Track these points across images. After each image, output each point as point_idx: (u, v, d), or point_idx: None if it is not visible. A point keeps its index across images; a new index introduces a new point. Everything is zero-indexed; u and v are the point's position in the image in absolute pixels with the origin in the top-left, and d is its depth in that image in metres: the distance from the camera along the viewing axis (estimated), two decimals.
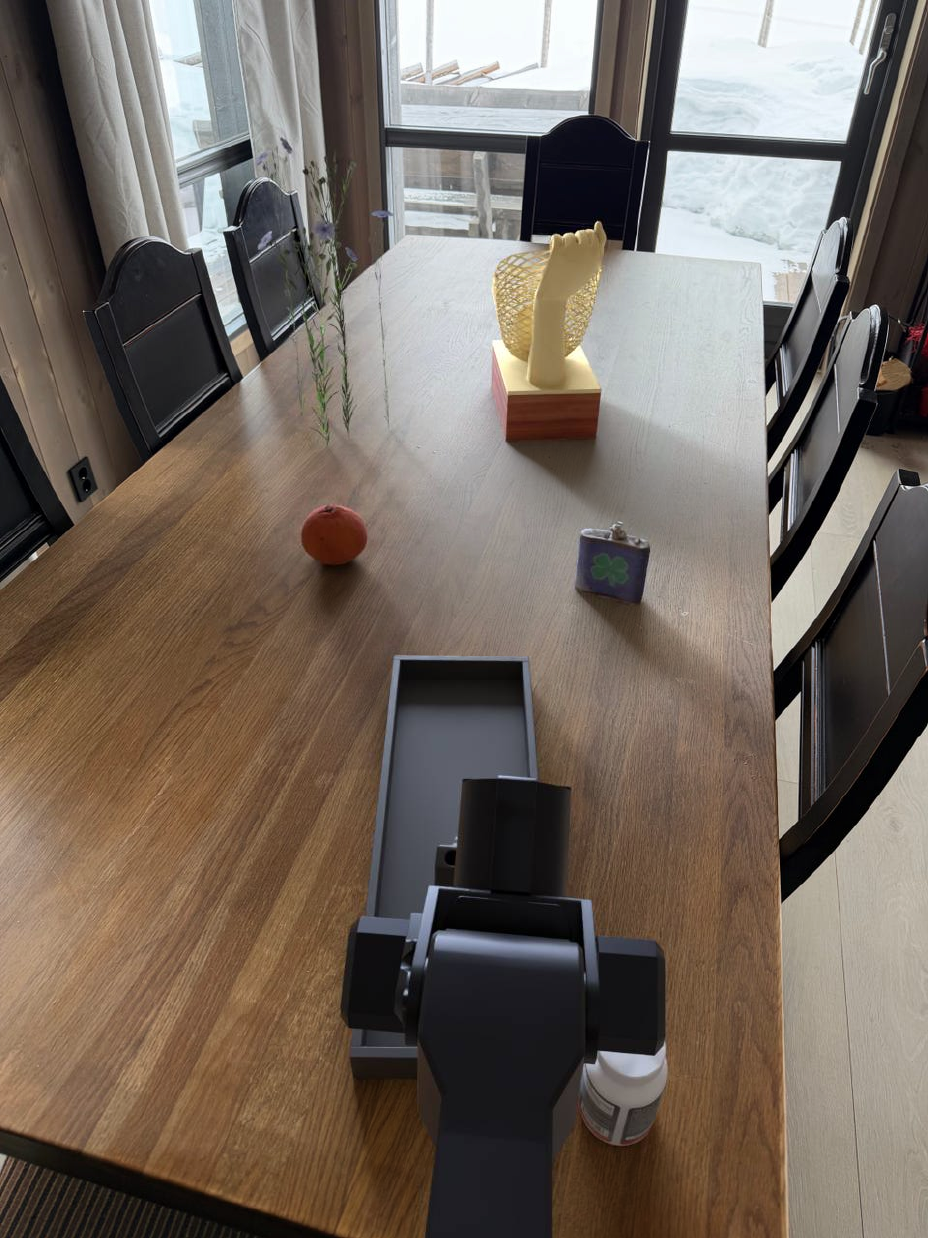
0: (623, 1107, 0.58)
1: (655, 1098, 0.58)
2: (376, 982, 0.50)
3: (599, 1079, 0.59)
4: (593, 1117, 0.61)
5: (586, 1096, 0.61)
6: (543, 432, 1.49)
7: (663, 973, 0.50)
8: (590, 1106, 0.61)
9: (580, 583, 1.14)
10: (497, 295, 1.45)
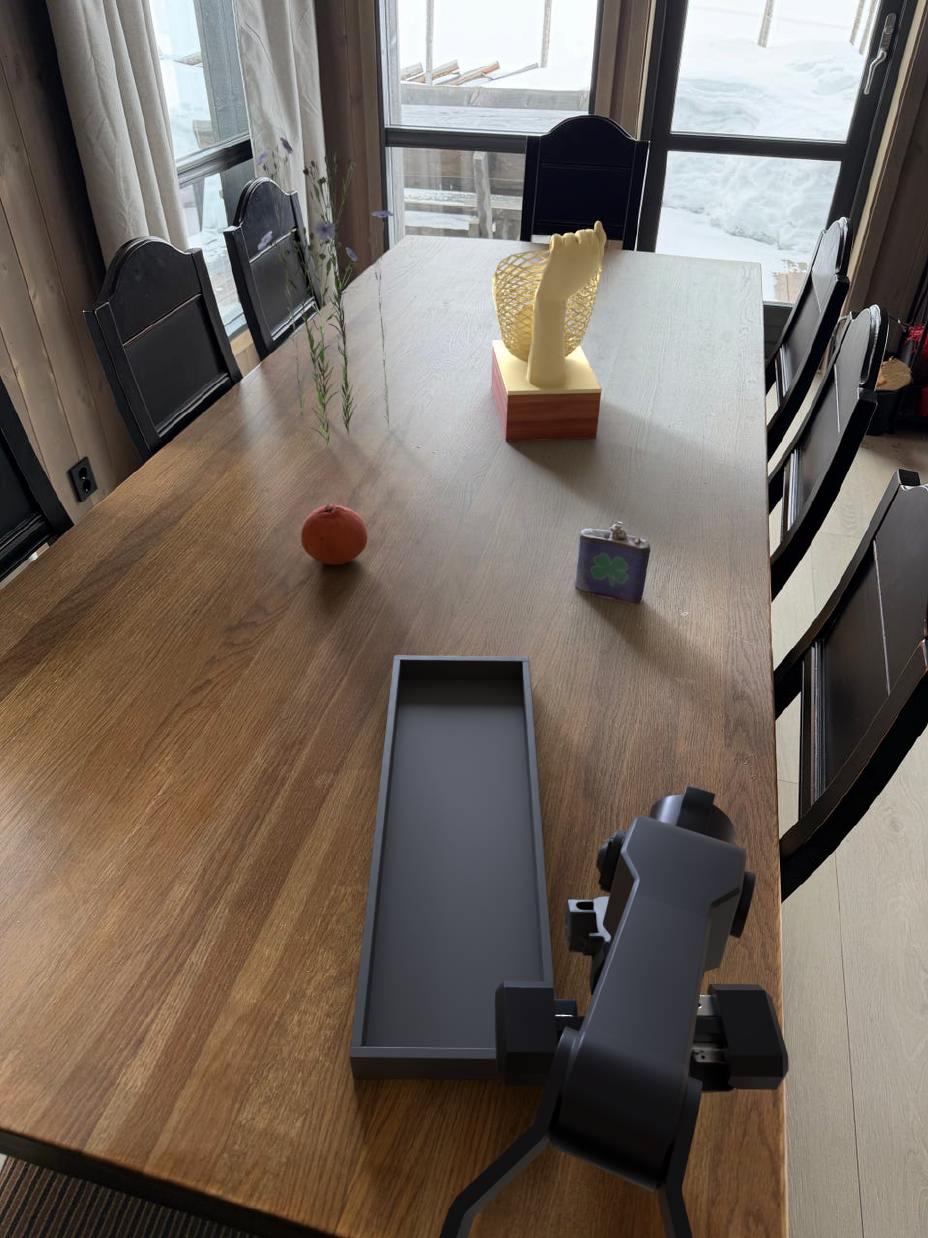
0: None
1: None
2: (528, 1025, 0.56)
3: None
4: None
5: None
6: (543, 432, 1.49)
7: (772, 1005, 0.58)
8: None
9: (580, 583, 1.14)
10: (497, 295, 1.45)
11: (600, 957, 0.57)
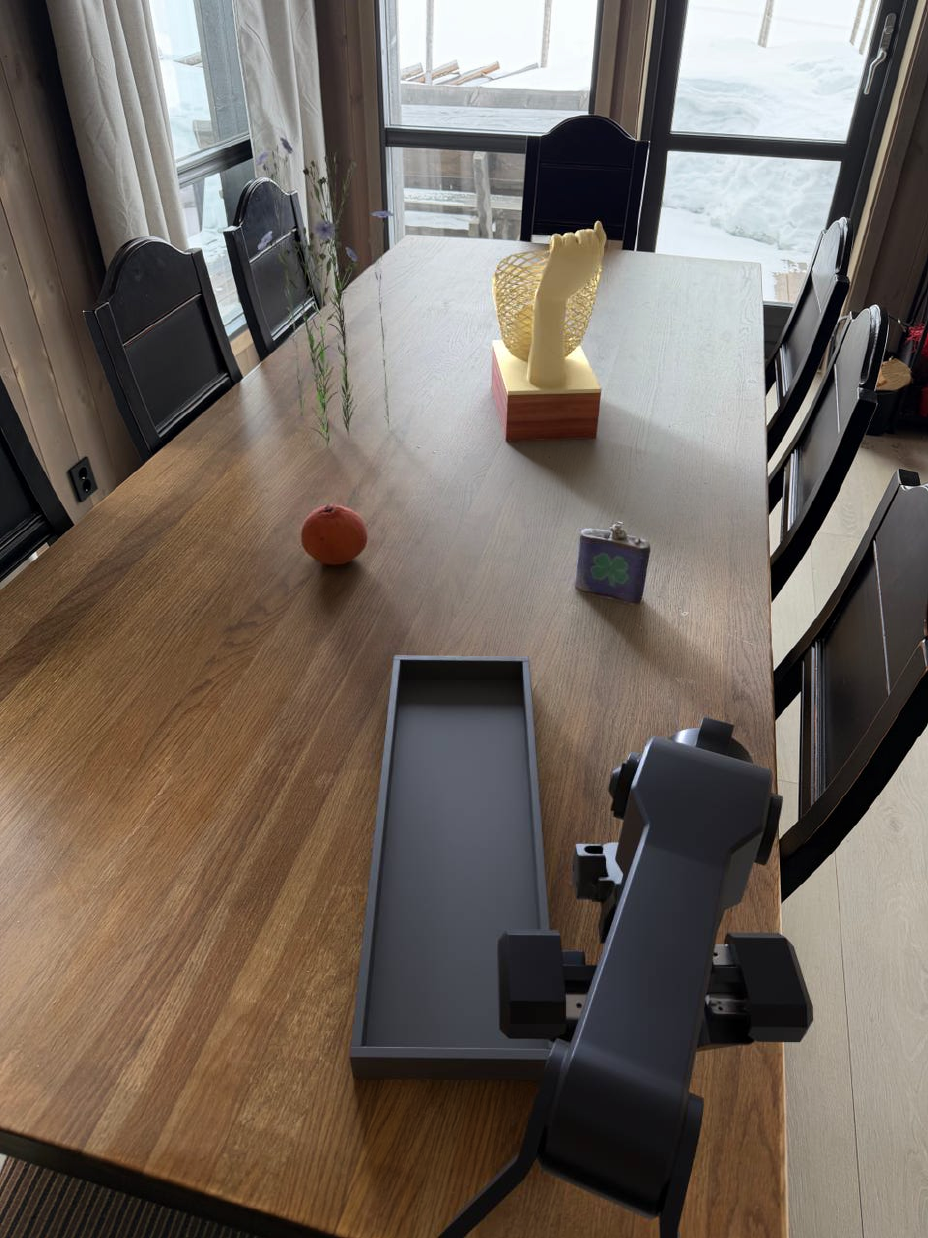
0: None
1: None
2: (533, 973, 0.52)
3: None
4: None
5: None
6: (543, 432, 1.49)
7: (794, 954, 0.54)
8: None
9: (580, 583, 1.14)
10: (497, 295, 1.45)
11: (610, 901, 0.53)
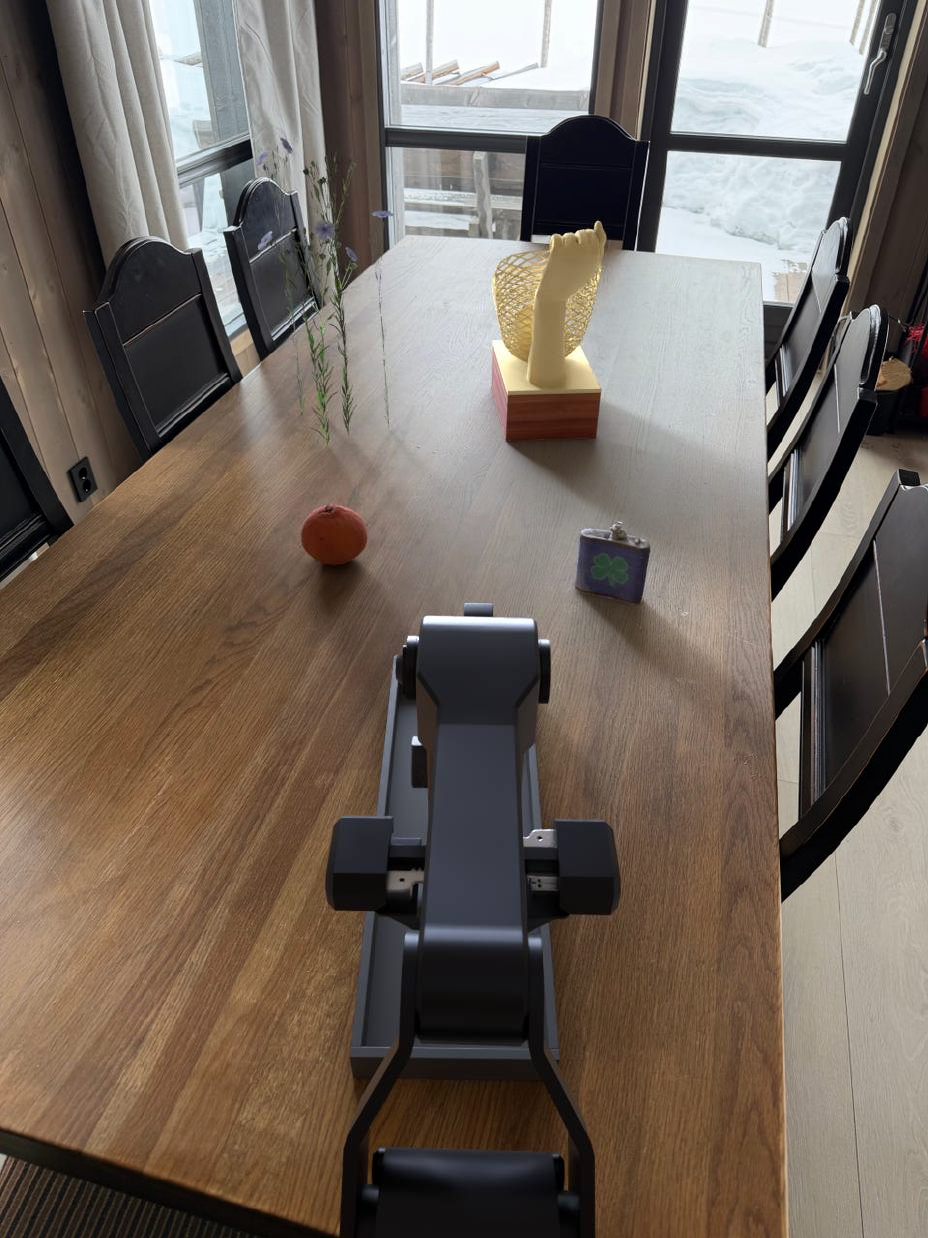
0: None
1: None
2: (359, 850, 0.55)
3: None
4: None
5: None
6: (543, 432, 1.49)
7: (612, 835, 0.57)
8: None
9: (580, 583, 1.14)
10: (497, 295, 1.45)
11: None
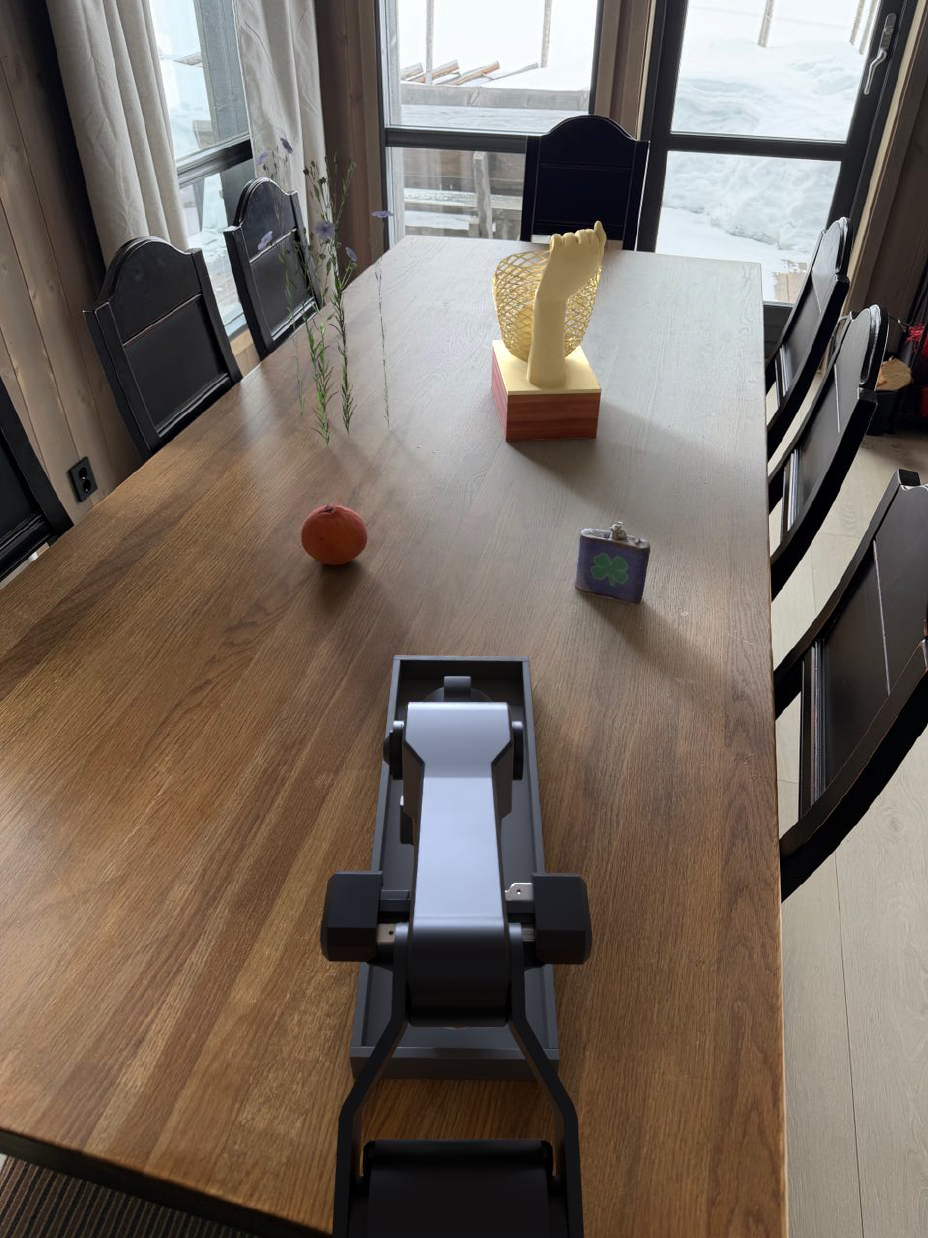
0: None
1: None
2: (351, 905, 0.60)
3: None
4: None
5: None
6: (543, 432, 1.49)
7: (585, 889, 0.62)
8: None
9: (580, 583, 1.14)
10: (497, 295, 1.45)
11: None
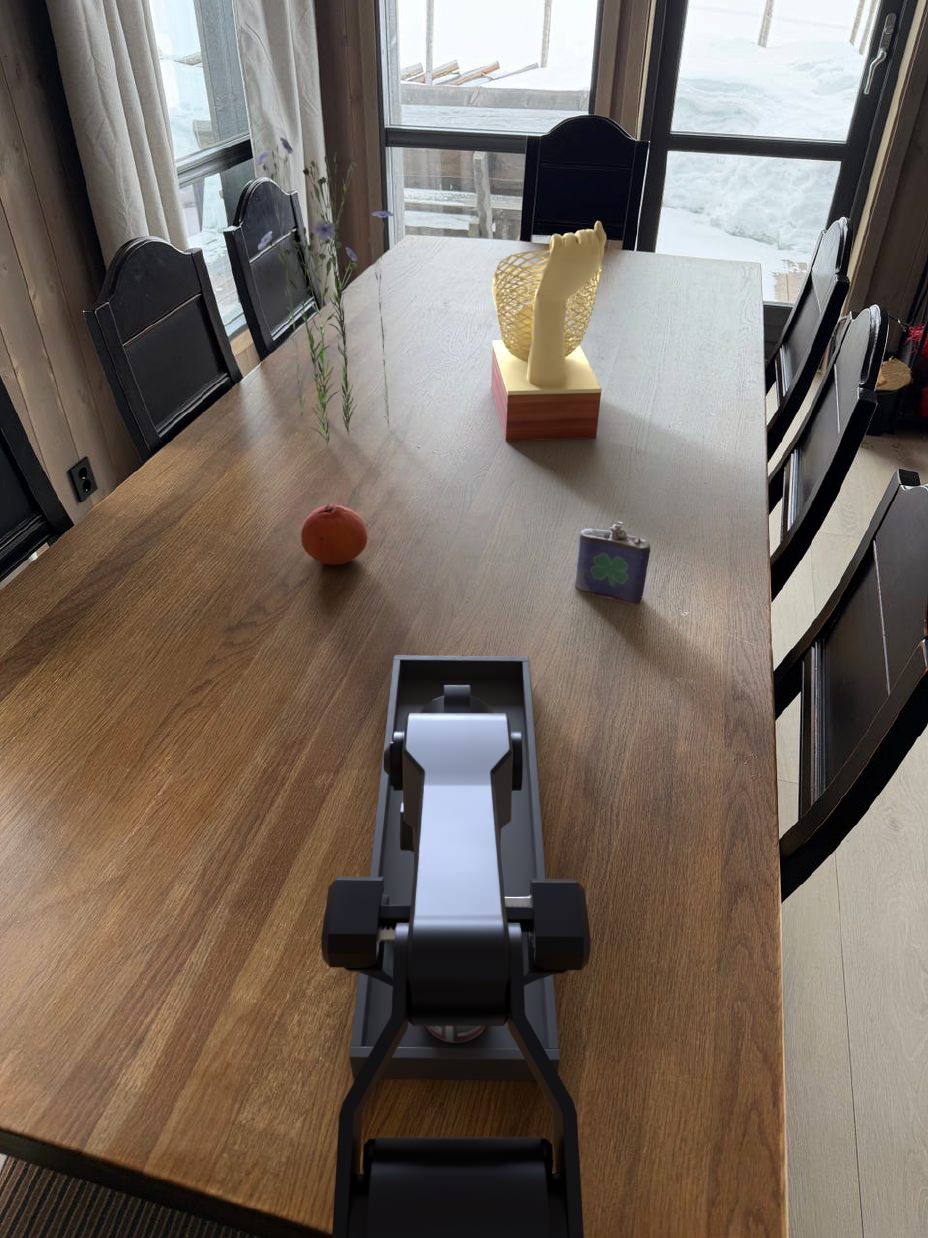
0: None
1: None
2: (352, 911, 0.61)
3: None
4: None
5: None
6: (543, 432, 1.49)
7: (583, 896, 0.62)
8: None
9: (580, 583, 1.14)
10: (497, 295, 1.45)
11: None
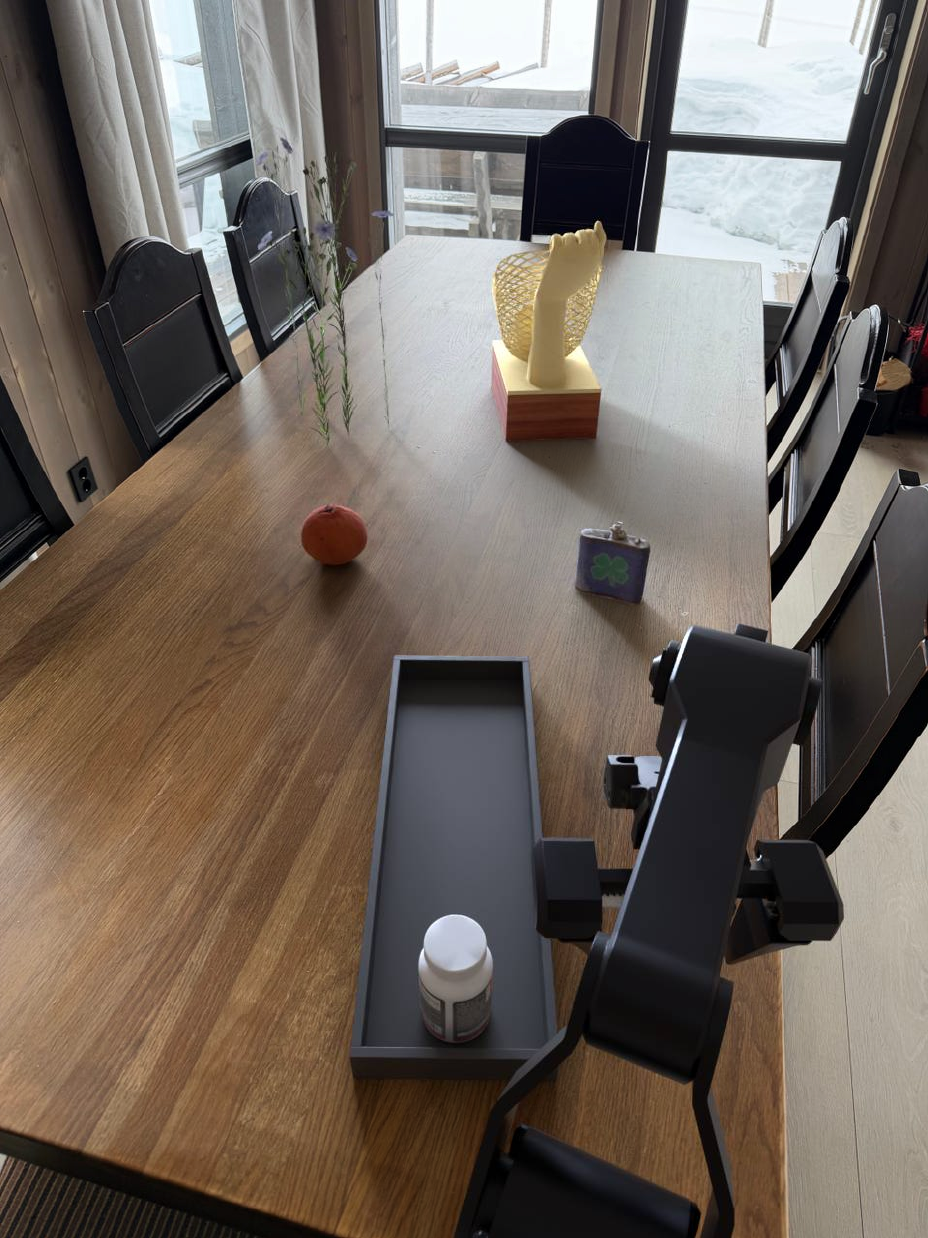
0: (446, 1000, 0.63)
1: (477, 993, 0.64)
2: (569, 875, 0.53)
3: (426, 976, 0.64)
4: (428, 1015, 0.66)
5: (421, 996, 0.66)
6: (543, 432, 1.49)
7: (824, 857, 0.55)
8: (424, 1004, 0.66)
9: (580, 583, 1.14)
10: (497, 295, 1.45)
11: (644, 805, 0.54)
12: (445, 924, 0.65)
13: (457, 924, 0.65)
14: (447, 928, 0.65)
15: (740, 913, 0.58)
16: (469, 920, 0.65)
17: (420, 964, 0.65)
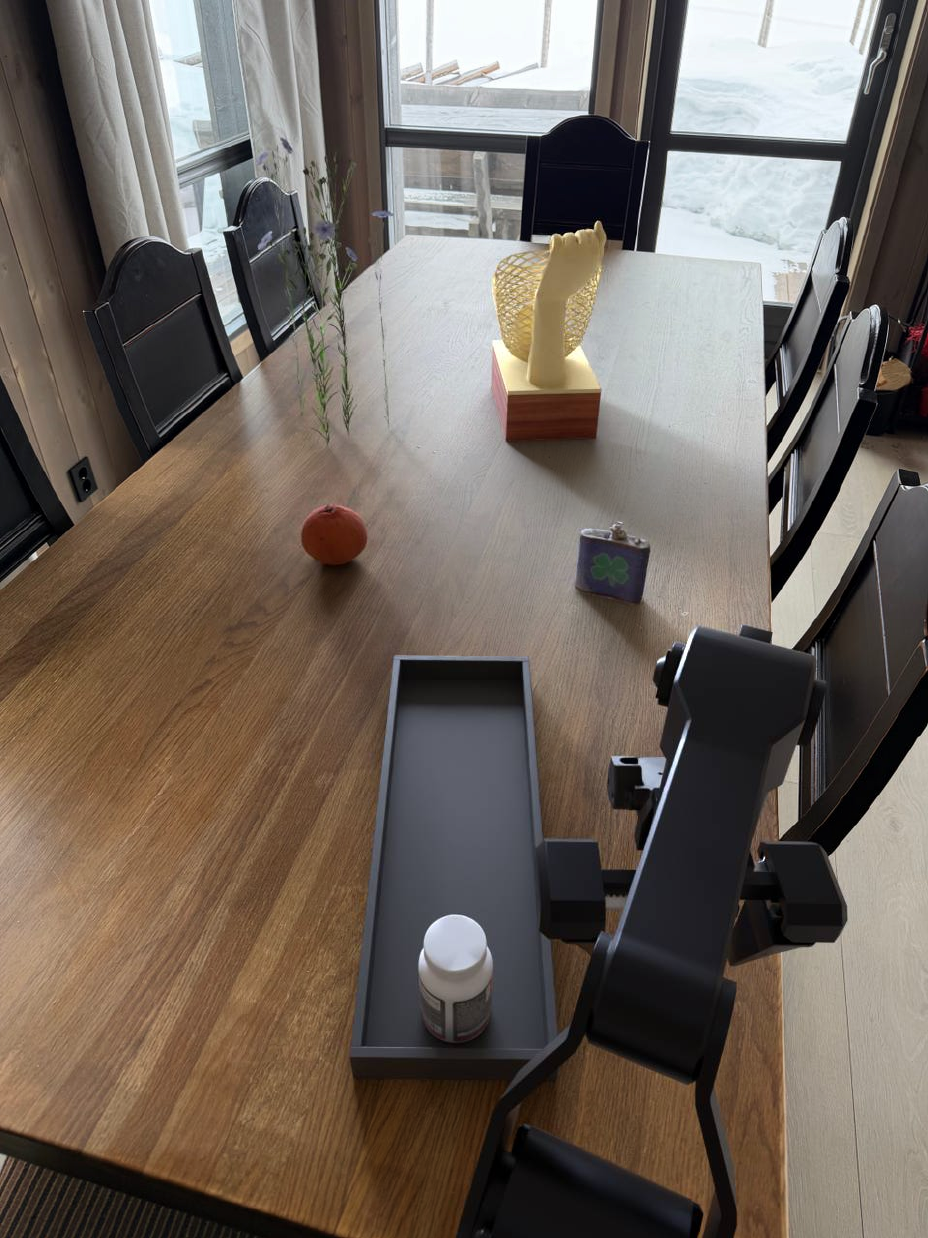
0: (446, 1000, 0.63)
1: (477, 993, 0.64)
2: (572, 876, 0.53)
3: (426, 976, 0.64)
4: (428, 1015, 0.66)
5: (421, 996, 0.66)
6: (543, 432, 1.49)
7: (828, 859, 0.55)
8: (424, 1004, 0.66)
9: (580, 583, 1.14)
10: (497, 295, 1.45)
11: (648, 806, 0.54)
12: (445, 924, 0.65)
13: (457, 924, 0.65)
14: (447, 928, 0.65)
15: (744, 914, 0.58)
16: (469, 920, 0.65)
17: (420, 964, 0.65)
